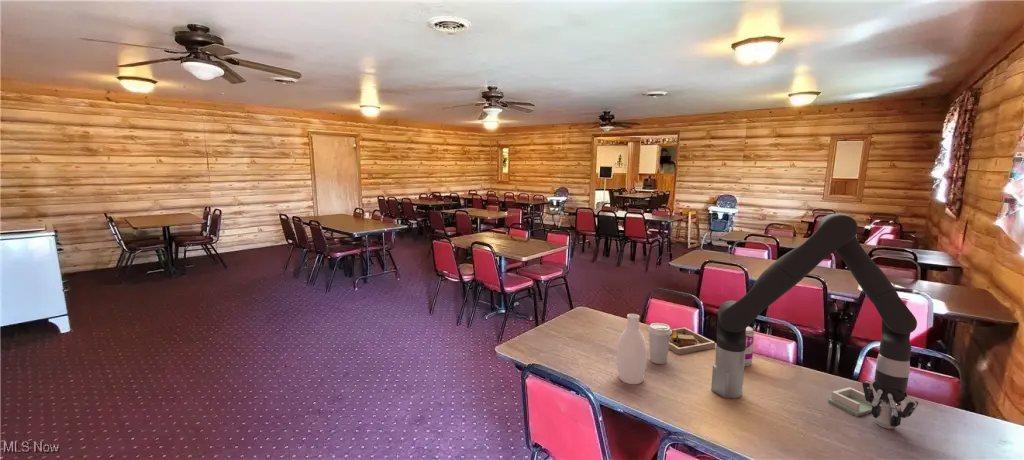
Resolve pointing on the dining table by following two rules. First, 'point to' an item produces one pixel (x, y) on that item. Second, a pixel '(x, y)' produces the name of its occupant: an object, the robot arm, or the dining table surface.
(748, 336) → the supplement can
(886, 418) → the rook chess piece
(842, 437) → the dining table surface
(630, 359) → the bottle
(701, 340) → the tray rim
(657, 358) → the coffee cup
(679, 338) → the toy sandwich meal
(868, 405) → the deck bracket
